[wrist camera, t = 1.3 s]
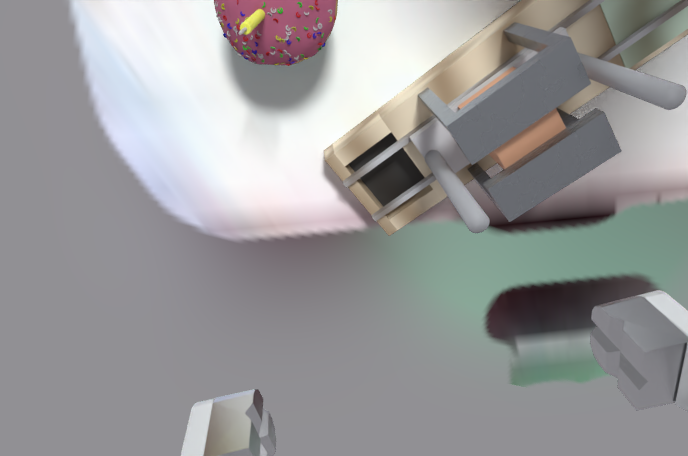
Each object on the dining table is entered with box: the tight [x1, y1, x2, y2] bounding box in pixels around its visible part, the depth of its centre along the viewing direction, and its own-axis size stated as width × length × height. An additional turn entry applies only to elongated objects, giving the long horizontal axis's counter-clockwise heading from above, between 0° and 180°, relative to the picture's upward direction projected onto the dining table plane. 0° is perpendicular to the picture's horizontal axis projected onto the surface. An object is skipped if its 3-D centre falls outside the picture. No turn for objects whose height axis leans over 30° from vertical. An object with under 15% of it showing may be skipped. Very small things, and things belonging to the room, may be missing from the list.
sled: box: [410, 27, 686, 233], centre depth 33 cm, size 14×5×12 cm, turn 127°
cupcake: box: [214, 0, 338, 66], centre depth 30 cm, size 9×8×12 cm
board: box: [324, 0, 688, 236], centre depth 39 cm, size 31×10×3 cm, turn 127°
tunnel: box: [418, 22, 621, 222], centre depth 35 cm, size 9×10×8 cm
